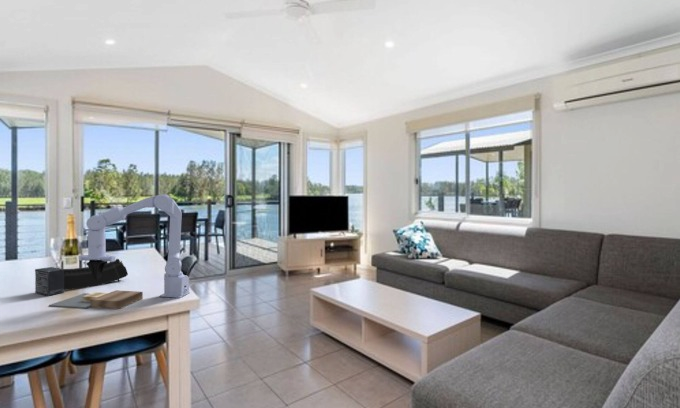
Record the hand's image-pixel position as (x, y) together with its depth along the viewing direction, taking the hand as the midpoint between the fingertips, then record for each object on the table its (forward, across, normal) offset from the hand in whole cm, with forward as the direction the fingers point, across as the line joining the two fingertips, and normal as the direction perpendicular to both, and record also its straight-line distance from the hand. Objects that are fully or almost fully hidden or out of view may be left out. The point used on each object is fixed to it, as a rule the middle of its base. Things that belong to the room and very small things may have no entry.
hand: (97, 278), depth 139 cm
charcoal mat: (+9, +5, 0) cm, 11 cm away
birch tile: (+9, +1, -1) cm, 9 cm away
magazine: (+10, +21, -20) cm, 31 cm away
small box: (+10, +29, -8) cm, 32 cm away
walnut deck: (+9, -9, 0) cm, 13 cm away
